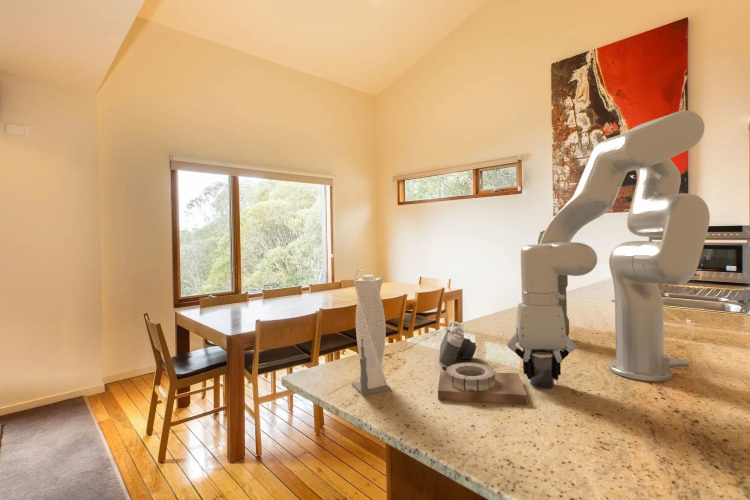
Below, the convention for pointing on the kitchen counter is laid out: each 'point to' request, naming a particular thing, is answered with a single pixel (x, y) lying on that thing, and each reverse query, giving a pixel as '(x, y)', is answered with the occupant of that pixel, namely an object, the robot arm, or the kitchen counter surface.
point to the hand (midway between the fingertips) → (541, 376)
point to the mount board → (492, 395)
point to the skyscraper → (370, 334)
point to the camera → (455, 345)
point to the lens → (542, 368)
